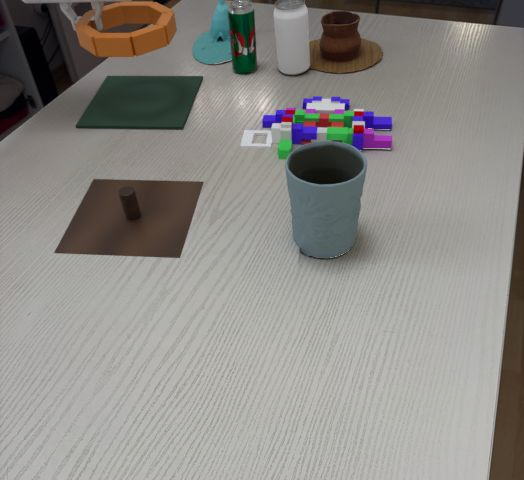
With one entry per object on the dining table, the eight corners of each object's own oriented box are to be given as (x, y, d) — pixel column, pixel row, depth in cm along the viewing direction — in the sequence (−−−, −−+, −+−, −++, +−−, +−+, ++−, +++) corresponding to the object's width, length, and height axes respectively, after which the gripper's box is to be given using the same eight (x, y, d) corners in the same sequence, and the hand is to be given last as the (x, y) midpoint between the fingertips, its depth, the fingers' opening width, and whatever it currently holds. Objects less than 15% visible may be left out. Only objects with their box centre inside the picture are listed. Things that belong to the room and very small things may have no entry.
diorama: (184, 65, 114) (177, 19, 107) (202, 27, 126) (196, -16, 120) (241, 65, 112) (238, 19, 106) (253, 26, 125) (251, -17, 118)
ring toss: (55, 257, 76) (42, 228, 72) (94, 183, 87) (85, 154, 83) (180, 262, 74) (174, 233, 70) (204, 185, 85) (200, 156, 82)
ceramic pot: (280, 61, 112) (279, 24, 107) (324, 31, 121) (325, -5, 116) (357, 81, 105) (360, 42, 100) (398, 47, 114) (403, 9, 109)
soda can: (253, 62, 113) (249, -4, 104) (260, 72, 110) (257, 5, 101) (229, 66, 112) (223, 1, 103) (236, 76, 109) (231, 10, 100)
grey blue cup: (348, 269, 72) (356, 191, 62) (276, 254, 74) (273, 177, 65) (366, 223, 77) (376, 145, 68) (299, 211, 80) (299, 134, 71)
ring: (70, 56, 91) (64, 37, 89) (99, 19, 101) (94, 1, 99) (162, 57, 89) (159, 37, 87) (182, 19, 99) (180, 0, 97)
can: (276, 63, 112) (270, -2, 102) (307, 57, 112) (304, -8, 102) (280, 78, 108) (274, 12, 98) (312, 72, 108) (310, 6, 98)
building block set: (390, 103, 99) (393, 78, 96) (392, 166, 86) (396, 139, 83) (254, 101, 102) (253, 76, 99) (237, 161, 89) (235, 136, 86)
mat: (76, 128, 99) (75, 125, 99) (107, 78, 111) (107, 75, 111) (183, 129, 97) (182, 126, 96) (203, 78, 109) (202, 75, 109)
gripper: (131, -76, 85) (150, 21, 96) (9, -72, 87) (40, 23, 98) (120, -64, 81) (141, 36, 92) (-8, -60, 83) (27, 37, 94)
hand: (88, 29), depth 95 cm, fingers closed on ring, 2 cm apart
